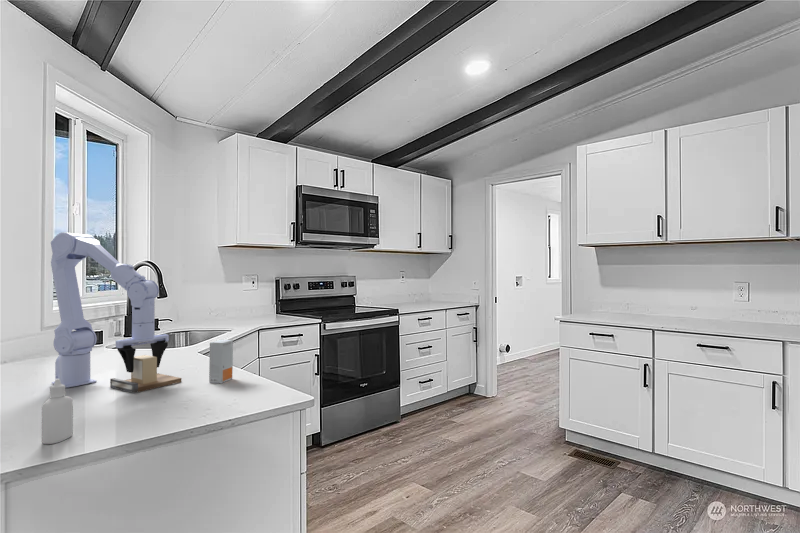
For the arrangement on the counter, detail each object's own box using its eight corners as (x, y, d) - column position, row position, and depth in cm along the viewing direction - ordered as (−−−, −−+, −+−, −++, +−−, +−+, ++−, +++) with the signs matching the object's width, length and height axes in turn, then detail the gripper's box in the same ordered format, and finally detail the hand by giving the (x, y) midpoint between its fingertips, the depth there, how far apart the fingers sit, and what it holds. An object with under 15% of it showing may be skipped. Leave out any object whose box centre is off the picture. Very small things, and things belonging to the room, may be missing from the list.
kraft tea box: (143, 384, 130) (143, 359, 130) (131, 381, 133) (131, 357, 133) (156, 381, 134) (156, 356, 134) (144, 378, 137) (144, 354, 137)
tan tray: (109, 387, 131) (109, 378, 131) (157, 377, 144) (157, 369, 144) (133, 393, 125) (133, 384, 125) (181, 382, 137) (181, 373, 137)
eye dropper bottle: (36, 441, 90) (36, 380, 90) (69, 433, 95) (69, 374, 95) (45, 446, 88) (45, 383, 88) (78, 437, 93) (78, 377, 93)
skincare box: (221, 383, 136) (221, 342, 136) (208, 383, 136) (208, 342, 136) (233, 378, 141) (233, 339, 142) (220, 378, 142) (220, 339, 142)
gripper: (125, 326, 125) (125, 376, 125) (175, 320, 138) (175, 366, 138) (111, 324, 129) (111, 373, 129) (160, 319, 141) (160, 363, 141)
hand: (143, 369), depth 134 cm, fingers open, 7 cm apart
